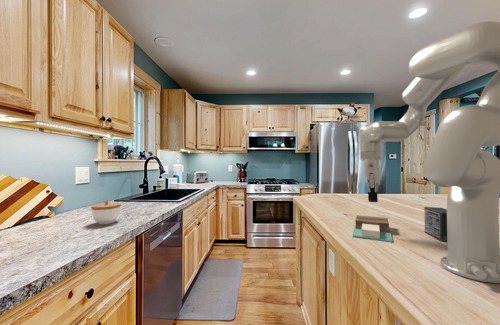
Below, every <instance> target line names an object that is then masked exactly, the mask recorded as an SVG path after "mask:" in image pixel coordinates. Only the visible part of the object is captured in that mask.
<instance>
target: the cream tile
mask: <svg viewBox="0 0 500 325" xmlns="http://www.w3.org/2000/svg"><path fill="white" fill-rule="evenodd" d="M361 230H362V236H367V237H374V238H380V229H379V225H372V224H362V229H361Z"/></svg>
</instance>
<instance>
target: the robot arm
mask: <svg viewBox="0 0 500 325" xmlns="http://www.w3.org/2000/svg"><path fill="white" fill-rule="evenodd" d="M468 65H473V66H480V67H488V68H489V67H490V68H493V69H496V70H497V71H496V73H495V74H494V75H493V76H492V77H491V78H490V79H489V80H488V82H487V83H486V84H485V86H484V88H483V90H482V92H481V94H480V96H479V99H478V101H477V102H476V104H469V105H463V106H460V107H457V108H456V109H453V110H451V111H450V112H449V113H447V115H445V117H444V118H443V119H442V120H441V122H440V123H439V126H438V128H437V129H436V132H435V135H434V137H433V139H432V141H431V145H430V147H429V149H428V152H427V153H426V156H425V159H424V163H423V173H424V176H425V178H426V180H427V181H429V182H430V183H431V185H434V186H436V187H440V188H449V189H448V193H447V198H446V209H447V241H446V243H447V255H446V256H442V257H441V258H440V259H439V260H440V265H441V266H442V267H443V268H444V269H446V270H447V271H449V272H451V273H453V274H456V275H458V276H460V277H464V278H466V279H471V280H474V281H477V282H478V281H479V282H484V283H491V284H500V220H499V219H500V216H499V215H500V159H499V158H498V157H497V156H496V155H495V154H492V153H491V152H489V151H485V150H482V149H481V147H495V146H496V147H497V146H500V22H498V21H481V22H477V23H474V24H471V25H468V26H465V27H464V28H462V29H459V30H456V31H454V32H453V33H450V34H448V35H445V36H443V37H441V38H438V39H436V40H434V41H432V42H430V43H428V44H426V45H425V46H423V47H422V48H420V49H419V50H418V51H417V52H415V54H414V55H413V56H412V57H411V58H410V61H409V62H408V65H407V66H408V73H409V75H410V76H412V77H414V78H413V79H412V81H411V82H410V83H409V84H408V85H407V87H406V88H405V89H404V90H403V92H402V93H401V98H402V100H403V101H404V102H405V103H406V104H407V105H408V109H407V111H406V112H405V113H404V115H403V116H402V117H401V118H400V119H399V120H398V121H397V120H396V121H395V120H394V121H393V120H392V121H388V120H387V121H386V120H385V121H384V120H379V121H375V122H373V123H371V124H370V125H364V126H362V127H360V128H359V130H358V135H359V155H360V161H363V166H364V167H363V168H364V178H365V182H366V185H367V186H368V191H367V194H368V195H367V197H368V202H369V203H378V201H379V200H378V191H377V184H378V185H381V174H380V172H381V171H380V169H381V168H380V160H382V156H383V155H382V142H402V141H404V140H406V139H408V138H409V137H410V136H411V135H412V134H414V132H416V131H417V130H418V129H419V128H420V126H422V124H423V122H424V120H425V118H426V115H427V109H428V107H429V106H430V104H432V103H433V101H434V100H435V99H437V97H438V96H439V95H440V94H442V92H443V91H444V90H445V89H446V88H447V87H449V86H450V84H451V83H452V82H453V81H454V80H456V78H457V77H458V76H459V75H461V73H462V72H463V71H464V69H465V68H466V66H468Z"/></svg>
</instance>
